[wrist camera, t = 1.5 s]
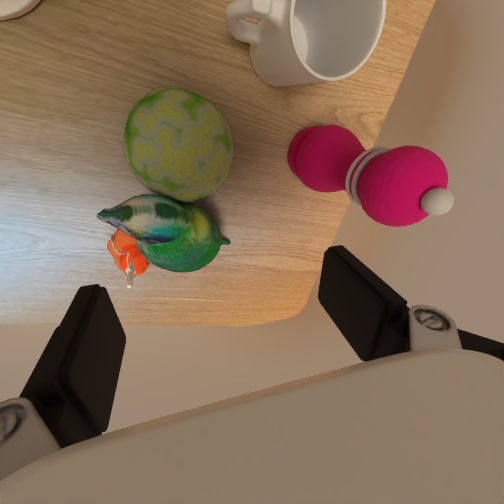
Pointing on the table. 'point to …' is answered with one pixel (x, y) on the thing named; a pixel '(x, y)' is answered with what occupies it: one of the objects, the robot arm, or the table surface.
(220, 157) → the decorative ball
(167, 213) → the toy
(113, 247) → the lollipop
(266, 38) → the mug
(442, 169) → the pepper mill
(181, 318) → the table surface
